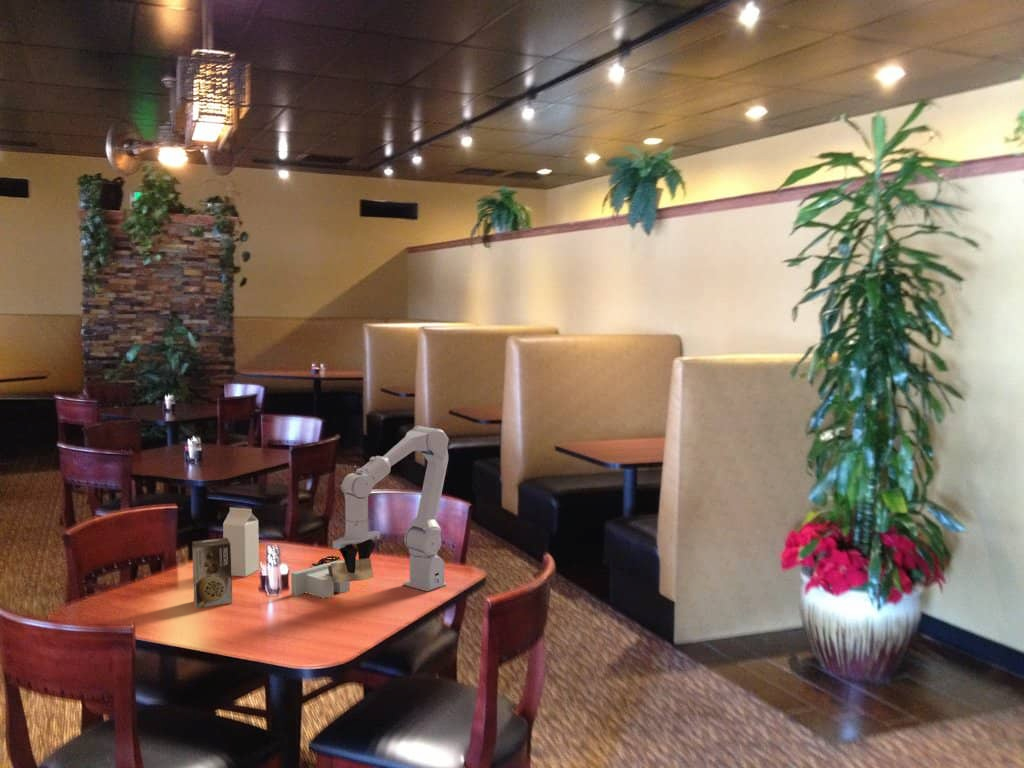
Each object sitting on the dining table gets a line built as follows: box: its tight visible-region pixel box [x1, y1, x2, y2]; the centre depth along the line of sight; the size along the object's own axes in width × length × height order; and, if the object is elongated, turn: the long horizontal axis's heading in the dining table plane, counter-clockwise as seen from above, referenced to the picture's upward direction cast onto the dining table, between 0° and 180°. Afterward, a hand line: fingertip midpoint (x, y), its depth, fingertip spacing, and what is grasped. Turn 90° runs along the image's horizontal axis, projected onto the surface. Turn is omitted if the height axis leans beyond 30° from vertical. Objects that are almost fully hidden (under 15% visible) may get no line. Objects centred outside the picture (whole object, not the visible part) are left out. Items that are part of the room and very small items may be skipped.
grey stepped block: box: [290, 560, 351, 599], centre depth 239 cm, size 9×16×6 cm, turn 141°
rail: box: [328, 557, 374, 582], centre depth 232 cm, size 15×4×5 cm, turn 51°
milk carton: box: [222, 507, 260, 578], centre depth 254 cm, size 7×7×19 cm
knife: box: [311, 555, 341, 566], centre depth 258 cm, size 25×6×1 cm, turn 165°
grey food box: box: [191, 537, 234, 609], centre depth 228 cm, size 9×6×16 cm
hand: (357, 570), depth 230 cm, fingers closed on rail, 3 cm apart
